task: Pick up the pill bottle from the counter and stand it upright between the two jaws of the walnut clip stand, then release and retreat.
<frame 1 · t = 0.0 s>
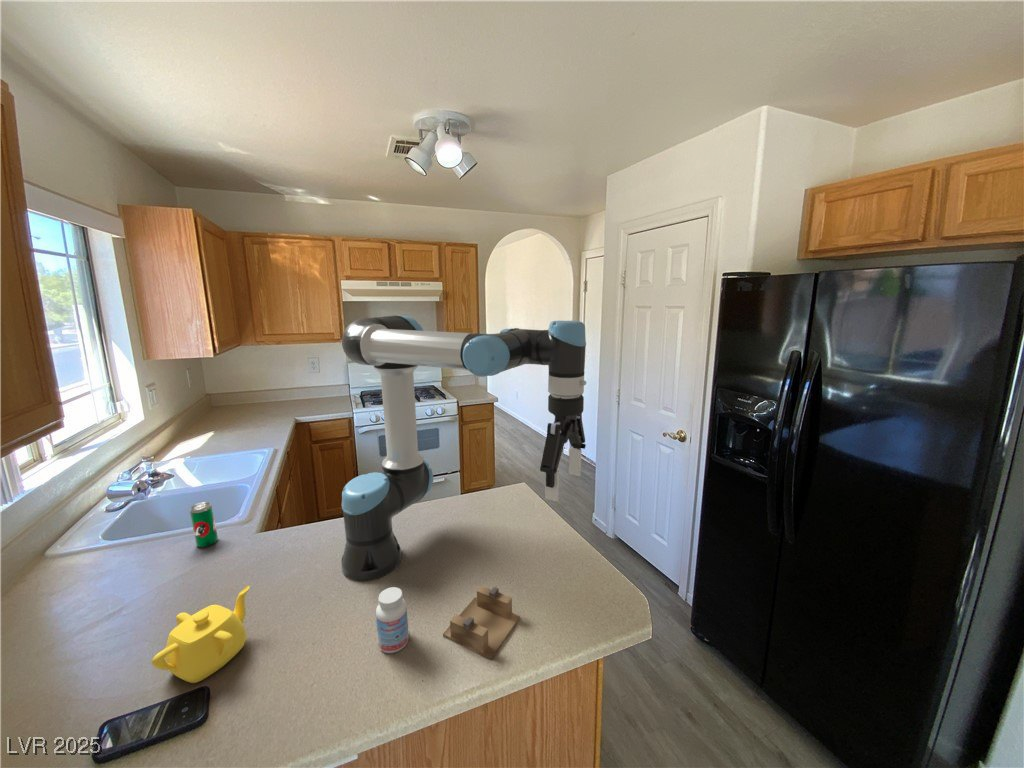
hand: (563, 486, 91), 28 cm above the countertop, fingers open, 13 cm apart
clip stand: (482, 627, 87), on the countertop
pill bottle: (394, 642, 84), on the countertop
soda can: (207, 543, 118), on the countertop
teapot: (213, 657, 81), on the countertop
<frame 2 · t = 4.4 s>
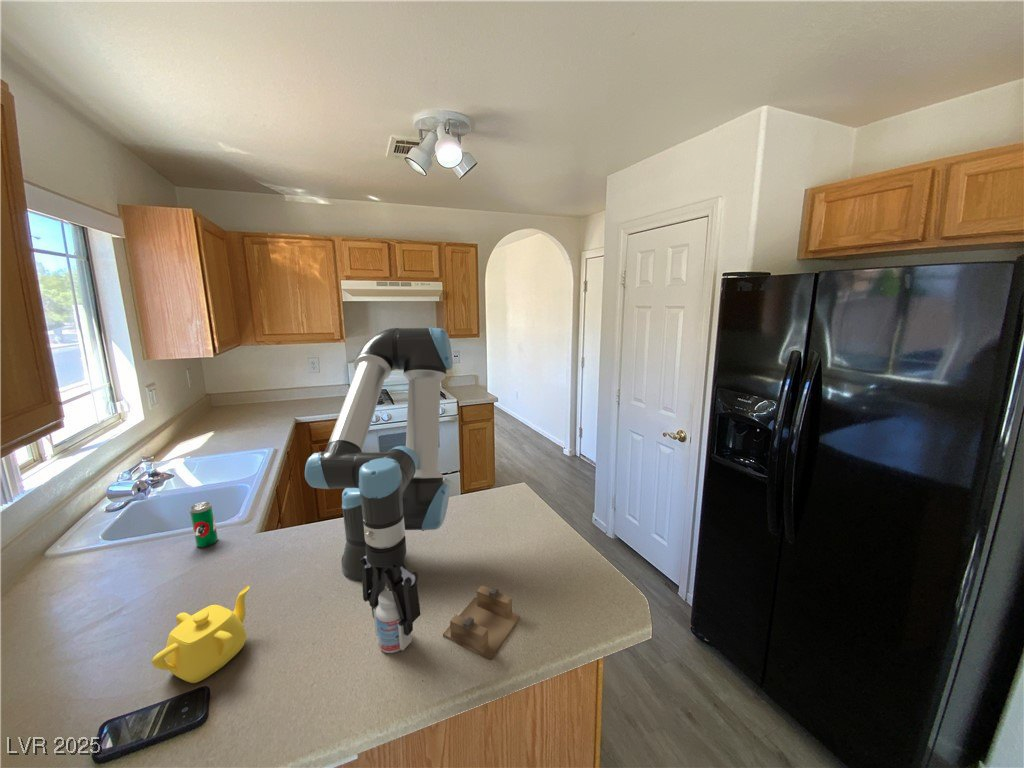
hand: (393, 638, 84), 1 cm above the countertop, fingers closed on pill bottle, 6 cm apart
pill bottle: (394, 642, 84), on the countertop, touching gripper
everything else where it was.
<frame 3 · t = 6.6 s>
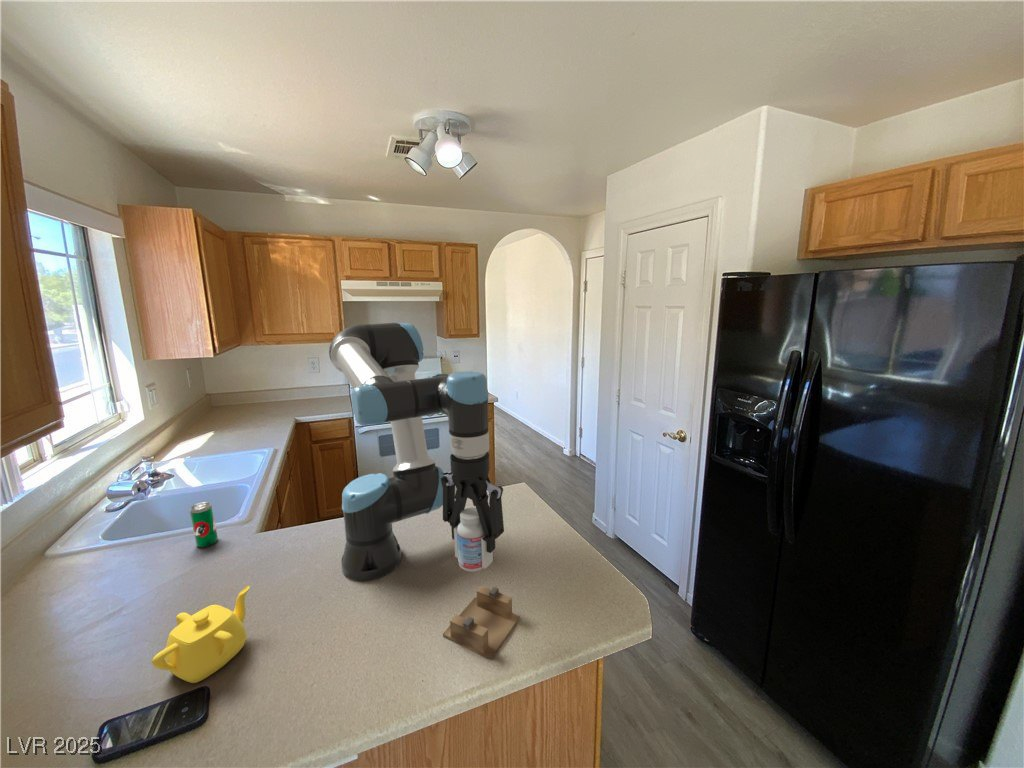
hand: (473, 558, 83), 17 cm above the countertop, fingers closed on pill bottle, 6 cm apart
pill bottle: (473, 564, 83), point 16 cm above the countertop, touching gripper
everything else where it was.
when the fingers open (3 cm above the countertop, at t = 9.0 s): pill bottle drops 1 cm, resting on clip stand.
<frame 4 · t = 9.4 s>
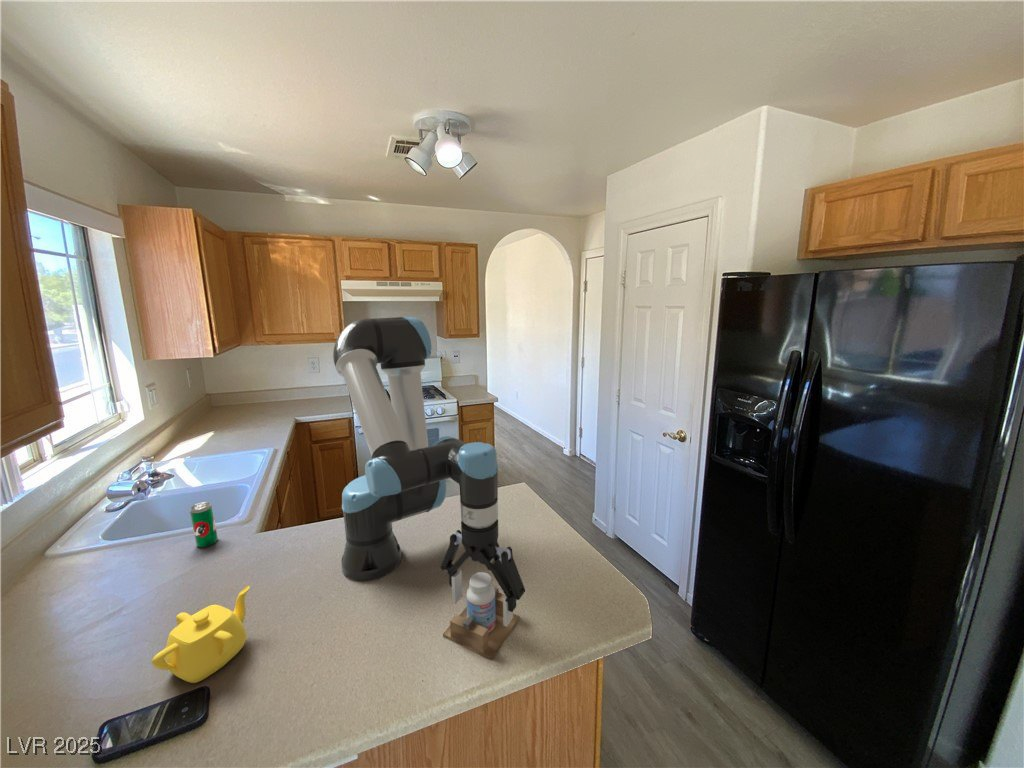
hand: (482, 610, 86), 4 cm above the countertop, fingers open, 12 cm apart
pill bottle: (481, 625, 87), resting on clip stand
everything else where it was.
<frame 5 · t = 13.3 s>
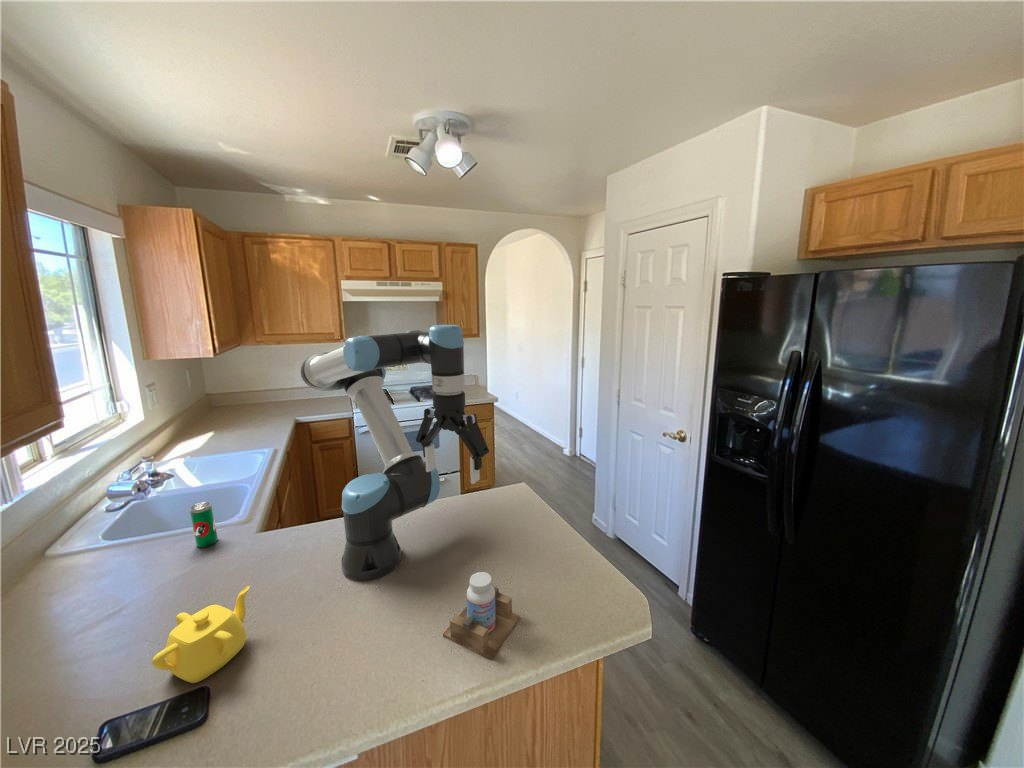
hand: (452, 475, 99), 27 cm above the countertop, fingers open, 13 cm apart
nothing on the countertop moved.
at the end: pill bottle 0.1 cm off-centre on the clip stand, point 0.4 cm above the clip stand's base; pill bottle tilted 0°; the gripper is holding nothing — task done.
